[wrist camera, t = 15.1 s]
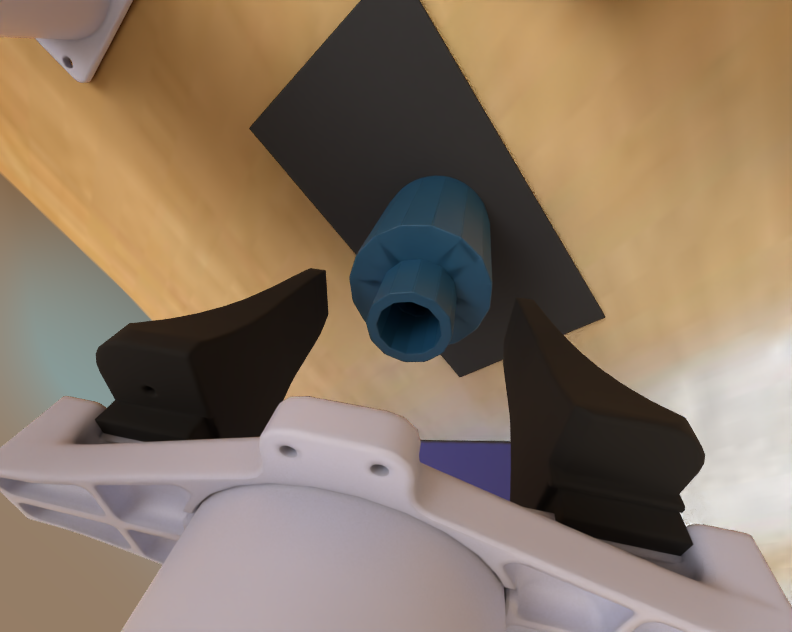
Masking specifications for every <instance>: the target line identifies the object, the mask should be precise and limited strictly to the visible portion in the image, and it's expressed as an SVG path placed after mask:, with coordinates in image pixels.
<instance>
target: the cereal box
mask: <svg viewBox="0 0 792 632" xmlns="http://www.w3.org/2000/svg"><path fill="white" fill-rule="evenodd" d="M420 441H421V445H420V452H419V461H420V462H421V463H423V464H425V465H427V466H429V467H432V468H434V469H436V470H439V471H441V472H443V473H446V474H448V475H450V476H453V477H455V478H457V479H460V480H462V481H464V482H466V483H469V484H471V485H473V486H476V487H478V488H480V489H483V490H485V491H487V492H490V493H492V494H494V495H496V496H499V497H501V498H503V499H506V500H508V501H510V475H511V442H495V441H431V440H420Z"/></svg>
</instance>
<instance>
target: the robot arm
mask: <svg viewBox="0 0 792 632" xmlns="http://www.w3.org/2000/svg"><path fill="white" fill-rule="evenodd" d="M132 1H133V0H0V37H15V38H35V39H36V40H37V41H38V42H39V43H40V44H41V45H42V46H43V47H44V48H45V49H46V50H47V51H48V52H49V53H50V54H51V55H52V56H53V58H54V59H55V60H56V61H57V62H58V63H59V64H60V65H61V66H62V67H63V68H64V69H65V70H66V71H67V72H68V73H69V74H70V75H71V76H72V77H73V78H74V79H75V80H77V81H78V82H80V83H86V82H90V81H91V79H92V78H93V76H94V74H95V72H96V70H97V68H98V66H99V64H100V62H101V60H102V59H103V57H104V55H105V53H106V51H107V49H108V47H109V45H110V43H111V41H112V40H113V38H114V36H115V34H116V32H117V30H118V28H119V26H120V24H121V22H122V20H123V19H124V17H125V15H126V13H127V11H128V9H129V7H130V5H131V3H132ZM70 60H71V61H72V63H73V66H72V64H71V62H70ZM327 317H328V299H327V283H326V270H319V269H312V268H310V269H308V270H305V271H303V272H301V273H299V274H297V275H295V276H293V277H291V278H289V279H287V280H285V281H283V282H281V283H279V284H277V285H275V286H273V287H271V288H269V289H267V290H265V291H262V292H260V293H258V294H256V295H253V296H251V297H249V298H246V299H244V300H241V301H238V302H235V303H232V304H230V305H227V306H223V307H220V308H216V309H212V310H209V311H205V312H201V313H197V314H192V315H187V316H182V317H176V318H171V319H164V320H156V321H147V322H139V323H129V324H128V325H127V326H125V327H124V328H123V329H121V330H120V331H119V332H118V333H116V334H115V335H114V336H112V337H111V338H110V339H109V340H107V341H106V342H105V343H103V344H102V345H101V346H99V347H98V350H97V352H96V363H97V366H98V368H99V371H100V373H101V375H102V376H103V378H104V380H105V382H106V384H107V386H108V387H109V389H110V391H111V393H112V394H113V396H114V398H115V401H114V402H113V403H112V404H111V405H110V406H109V407H108V408H106V407H105V406H103V405H102V404H100V403H97V402H95V401H89V400H85V399H79V398H74V397H69V396H63V397H62V398H61V399H60V400H58V401H57V402H56V403H55V404H54V405H52V406H51V407H50V408H49V409H47V410H46V411H45V412H44V413H42V414H41V415H40V416H39V417H38V418H36V419H35V420H34V421H33V422H31V423H30V424H29V425H28V426H26V427H25V428H24V429H23V430H21V431H20V432H19V433H18V434H16V435H15V437H13V438H12V439H10V440H9V441H8V442H7V443H5V444H4V445H3V446H2V447H0V492H1V493H2V494H3V495H4V496H5V497H6V498H8V499H9V500H10V501H11V502H12V503H13V504H14V505H15V506H16V507H17V508H18V509H19V510H20V511H21V512H22V513H23V514H24V515H25V516H26V517H27V518H28V519H31V520H35V521H39V522H42V523H46V524H49V525H53V526H57V527H60V528H64V529H67V530H69V531H72V532H76V533H79V534H82V535H85V536H87V537H91V538H93V539H96V540H98V541H101V542H104V543H107V544H109V545H112V546H115V547H117V548H120V549H122V550H125V551H128V552H130V553H133V554H136V555H138V556H141V557H143V558H146V559H149V560H151V561H154V562H156V563H159V564H162V567H161V568H160V570H159V571H158V573H157V575H156V576H155V578H154V580H153V581H152V583H151V584H150V586H149V588H148V589H147V591H146V592H145V594H144V595H143V597H142V599H141V600H140V602H139V603H138V605H137V607H136V608H135V610H134V611H133V613H132V614H131V616H130V618H129V619H128V621H127V622H126V624H125V626H124V627H123V629H122V630H121V632H792V607H791V605H790V603H789V601H788V600H787V598H786V596H785V594H784V593H783V591H782V589H781V587H780V585H779V584H778V582H777V580H776V578H775V576H774V575H773V573H772V571H771V569H770V568H769V566H768V564H767V562H766V560H765V559H764V557H763V555H762V553H761V551H760V550H759V548H758V546H757V544H756V543H755V541H754V539H753V537H752V536H751V535H749V534H747V533H743V532H738V531H733V530H728V529H723V528H718V527H713V526H708V525H700V524H695V525H689V526H687V527H686V526H685V524H684V522H683V519H682V517H681V515H680V512H681V513H682V512H683V511H684V510H685V505H684V503H683V501H682V499H681V496H680V493H681V491H682V490H683V489H684V488H685V487H686V486H687V485H688V484H689V483H690V481H691V480H692V479H693V478H694V477H695V476H696V475H697V474H698V473H699V471H700V469H701V468H702V466H703V465H704V460H705V453H704V451H703V448H702V446H701V444H700V442H699V440H698V438H697V437H696V435H695V433H694V431H693V430H692V428H691V426H690V424H689V423H688V421H687V420H686V418H685V417H683V416H681V415H679V414H677V413H675V412H673V411H671V410H669V409H667V408H664V407H662V406H660V405H658V404H656V403H654V402H652V401H651V400H649V399H647V398H645V397H643V396H642V395H640V394H638V393H637V392H635V391H633V390H631V389H630V388H628V387H627V386H625V385H623V384H622V383H620V382H619V381H617V380H616V379H614V378H613V377H612V376H610V375H609V374H607V373H606V372H604V371H603V370H602V369H600V368H599V367H598V366H596V365H595V364H594V363H593V362H592V361H590V360H589V359H588V358H587V357H586V356H584V355H583V354H582V353H581V352H580V351H579V350H578V349H577V348H576V347H575V346H574V345H573V344H572V343H571V342H570V341H569V340H568V339H567V338H566V337H565V336H564V335H563V334H562V333H561V332H560V331H559V330H558V329H557V328H556V326H555V325H554V324H553V323H552V322H551V321H550V319H549V318H548V317H547V316H546V314H545V313H544V312H543V311H542V310H541V308H540V307H539V306H538V305H537V303H536V302H535V301H534V300H532V299H525V298H518V297H516V299H515V303H514V306H513V310H512V313H511V317H510V320H509V324H508V328H507V331H506V335H505V338H504V348H503V366H504V374H505V382H506V390H507V398H508V405H509V413H510V432H511V475H510V501H508V500H506V499H503V498H501V497H499V496H496V495H494V494H492V493H490V492H487V491H485V490H483V489H480V488H478V487H476V486H473V485H471V484H469V483H466V482H464V481H462V480H460V479H457V478H455V477H453V476H450V475H448V474H446V473H443V472H441V471H439V470H436V469H434V468H432V467H429V466H427V465H425V464H423V463H421V462H420V461H419V452H420V445H421V441H420V437H419V433H418V430H417V429H416V428H415V427H414V426H413V425H412V424H411V423H410V422H409V421H408V420H407V419H405V418H404V417H402V416H400V415H397V414H394V413H392V412H389V411H385V410H380V409H374V408H369V407H364V406H358V405H353V404H347V403H342V402H337V401H331V400H326V399H320V398H315V397H310V396H296V397H289V398H287V399H286V400H284V397H285V395H286V393H287V391H288V389H289V387H290V384H291V382H292V381H293V379H294V377H295V375H296V373H297V372H298V370H299V369H300V367H301V365H302V364H303V362H304V360H305V359H306V357H307V355H308V354H309V352H310V351H311V349H312V347H313V346H314V344H315V342H316V341H317V339H318V337H319V335H320V334H321V331H322V329H323V327H324V324H325V322H326V319H327ZM283 400H284V401H283Z"/></svg>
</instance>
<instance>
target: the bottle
mask: <svg viewBox="0 0 792 632" xmlns="http://www.w3.org/2000/svg"><path fill="white" fill-rule="evenodd" d="M349 279H350V285H351V292H352V299H353V302H354V304H355V306H356V307H357V309H358V311H359V312H360V314H361V316H362V318H363V319H364V321H365V322H366V324H367V328H368V332H369V335H370V339H371V340H372V342H373V343H374V344H375V345H376V346H377V347H378V348H379V349H380V350H381V351H382V352H383V353H384V354H386V355H388V356H391V357H393V358H396V359H398V360H401V361H403V362H425V361H428V360H430V359H432V358H434V357H436V356H438V355H440V354H442V353H443V352H444V351H445V349H446V348H447V346H448V345H450V344H454V343H457V342H459V341H460V340H462V339H463V338H464V337H466V336H467V335H469V334H470V333H472V332H473V331H475V330H476V329H477V328H478V327H479V325H480V323H481V322H482V320H483V319H484V317H485V315H486V314H487V312H488V310H489V308H490V303H491V293H492V264H491V239H490V222H489V219H488V214H487V210H486V208H485V206H484V203H483V202H482V200H481V198H480V197H479V196H478V195H477V193H476V192H475V191H474V190H473V189H472V188H470V187H469V186H468V185H466V184H465V183H463V182H461V181H459V180H457V179H454V178H451V177H446V176H427V177H423V178H420V179H417V180H414V181H413V182H411V183H409V184H407V185H406V186H405V187H403V188H402V189H401V190H400V191H399V192H398V193H397V194H396V196H395V197H394V198H393V199H392V201H391V202H390V203H389V205H388V206H387V208H386V209H385V211H384V212H383V214H382V215H381V217H380V219H379V220H378V222H377V223H376V225H375V226H374V228H373V230H372V231H371V233H370V234H369V236H368V237H367V239H366V240H365V242H364V244H363V245H362V247H361V248H360V250H359V251H358V253H357V255H356V257H355V261H354V264H353V267H352V270H351V274H350V278H349Z"/></svg>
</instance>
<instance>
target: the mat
mask: <svg viewBox="0 0 792 632" xmlns="http://www.w3.org/2000/svg"><path fill="white" fill-rule="evenodd" d="M249 129H250V130H251V131H252V132H253V133H254V135H255V136H256V137H257V138H258V139H259V141H260V142H261V143H262V144H263V145H264V146H265V148H266V149H267V150H268V151H269V152H270V154H271V155H272V156H273V157H274V158H275V159H276V161H277V162H278V163H279V164H280V165H281V167H282V168H283V169H284V170H285V171H286V172H287V174H288V175H289V176H290V177H291V178H292V180H293V181H294V182H295V183H296V184H297V185H298V187H299V188H300V189H301V190H302V191H303V193H304V194H305V195H306V196H307V197H308V198H309V200H310V201H311V202H312V203H313V204H314V206H315V207H316V208H317V209H318V210H319V211H320V213H321V214H322V215H323V216H324V217H325V219H326V220H327V221H328V222H329V223H330V224H331V226H332V227H333V228H334V229H335V230H336V232H337V233H338V234H339V235H340V236H341V237H342V239H343V240H344V241H345V242H346V243H347V245H348V246H349V247H350V248H351V249H352V250H353V252H354V253H355V254H356V255H357V253H358V251H359V250H360V248H361V247H362V245H363V244H364V242H365V240H366V239H367V237H368V236H369V234H370V233H371V231H372V230H373V228H374V226H375V225H376V223H377V222H378V220H379V219H380V217H381V215H382V214H383V212H384V211H385V209H386V208H387V206H388V205H389V203H390V202H391V201H392V199H393V198H394V197H395V196H396V194H397V193H398V192H399V191H400V190H401V189H402V188H403V187H405V186H406V185H407V184H409V183H411V182H413V181H414V180H417V179H420V178H423V177H427V176H446V177H451V178H454V179H457V180H459V181H461V182H463V183H465V184H466V185H468V186H469V187H470V188H472V189H473V190H474V191H475V192H476V193H477V195H478V196H479V197H480V198H481V200H482V202H483V203H484V206H485V208H486V210H487V214H488V219H489V222H490V239H491V264H492V293H491V303H490V308H489V310H488V312H487V314H486V315H485V317H484V319H483V320H482V322H481V323H480V325H479V327H478V328H477V329H476V330H475V331H473V332H472V333H470V334H469V335H467V336H466V337H464V338H463V339H462V340H460V341H459V342H457V343H454V344H450V345H448V346H447V348H446V349H445V351H444V352H443V353H442V354H440V355H441V356H442V357H443V358H444V359H445V360H446V362H447V363H448V364H449V365H450V366H451V368H452V369H453V370H454V371H455V372H456V373H457V375H458V376H459V377H462V376H464V375H467V374H469V373H472V372H474V371H477V370H479V369H481V368H484V367H486V366H489V365H491V364H494V363H496V362H498V361H501V360H503V348H504V338H505V335H506V331H507V328H508V324H509V320H510V317H511V313H512V310H513V306H514V303H515V299H516V297H518V298H525V299H532V300H534V301H535V302H536V303H537V305H538V306H539V307H540V308H541V310H542V311H543V312H544V313H545V314H546V316H547V317H548V318H549V319H550V321H551V322H552V323H553V324H554V325H555V326H556V328H557V329H558V330H559V331H560V332H561V333H562V334H563V335H564V334H566V333H569V332H571V331H573V330H576V329H578V328H581V327H583V326H586V325H588V324H590V323H593V322H595V321H598V320H600V319H603V318H605V316H604V313H603V312H602V310H601V308H600V307H599V305H598V303H597V302H596V300H595V298H594V296H593V295H592V293H591V291H590V290H589V288H588V286H587V285H586V283H585V281H584V279H583V278H582V276H581V274H580V273H579V271H578V269H577V268H576V266H575V264H574V262H573V261H572V259H571V257H570V256H569V254H568V252H567V250H566V249H565V247H564V245H563V244H562V242H561V240H560V239H559V237H558V235H557V233H556V232H555V230H554V228H553V227H552V225H551V223H550V222H549V220H548V218H547V216H546V215H545V213H544V211H543V210H542V208H541V206H540V205H539V203H538V201H537V199H536V198H535V196H534V194H533V193H532V191H531V189H530V187H529V186H528V184H527V182H526V181H525V179H524V177H523V176H522V174H521V172H520V170H519V169H518V167H517V165H516V164H515V162H514V160H513V159H512V157H511V155H510V153H509V152H508V150H507V148H506V147H505V145H504V143H503V142H502V140H501V138H500V136H499V135H498V133H497V131H496V130H495V128H494V126H493V125H492V123H491V121H490V119H489V118H488V116H487V114H486V113H485V111H484V109H483V107H482V106H481V104H480V102H479V101H478V99H477V97H476V96H475V94H474V92H473V90H472V89H471V87H470V85H469V84H468V82H467V80H466V79H465V77H464V75H463V73H462V72H461V70H460V68H459V67H458V65H457V63H456V62H455V60H454V58H453V56H452V55H451V53H450V51H449V50H448V48H447V46H446V44H445V43H444V41H443V39H442V38H441V36H440V34H439V33H438V31H437V29H436V27H435V26H434V24H433V22H432V21H431V19H430V17H429V16H428V14H427V12H426V10H425V9H424V7H423V5H422V4H421V2H420V0H361V1H360V2H359V3H358V4H357V5H356V6H355V8H354V9H353V10H352V11H351V12H350V13H349V14H348V16H347V17H346V18H345V19H344V20H343V21H342V22H341V24H340V25H339V26H338V27H337V28H336V29H335V30H334V32H333V33H332V34H331V35H330V36H329V37H328V39H327V40H326V41H325V42H324V43H323V44H322V45H321V47H320V48H319V49H318V50H317V51H316V52H315V53H314V55H313V56H312V57H311V58H310V59H309V60H308V61H307V63H306V64H305V65H304V66H303V67H302V68H301V69H300V71H299V72H298V73H297V74H296V75H295V76H294V77H293V79H292V80H291V81H290V82H289V83H288V84H287V85H286V87H285V88H284V89H283V90H282V91H281V92H280V93H279V95H278V96H277V97H276V98H275V99H274V100H273V101H272V103H271V104H270V105H269V106H268V107H267V108H266V109H265V111H264V112H263V113H262V114H261V115H260V116H259V117H258V119H257V120H256V121H255V122H254V123H253V124H252V125H251V127H250V128H249Z"/></svg>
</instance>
